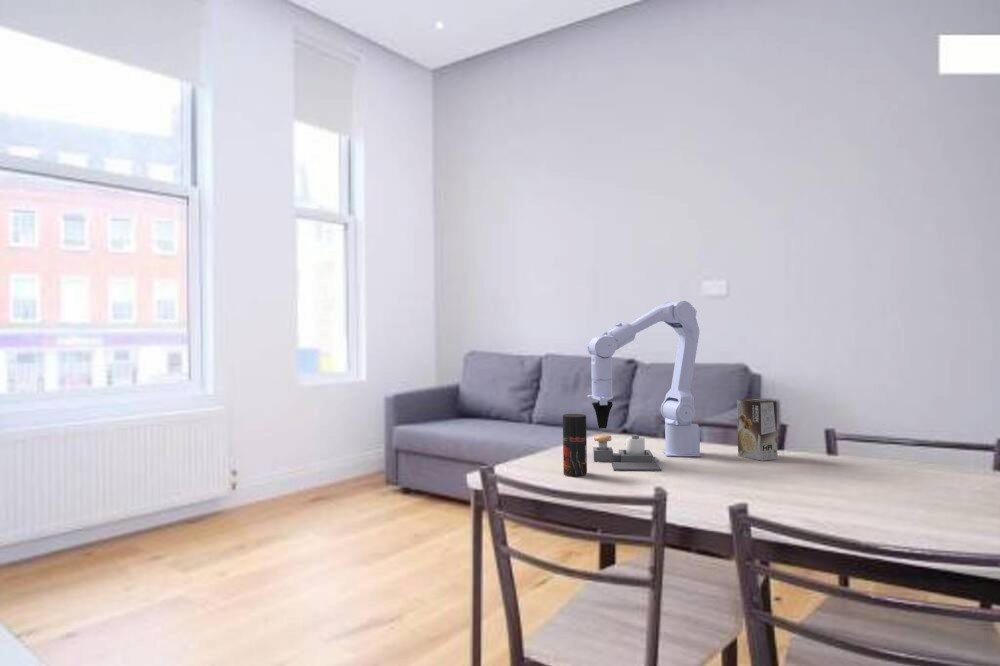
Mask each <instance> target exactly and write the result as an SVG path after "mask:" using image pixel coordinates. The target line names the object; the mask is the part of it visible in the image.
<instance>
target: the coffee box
mask: <svg viewBox="0 0 1000 666" xmlns="http://www.w3.org/2000/svg"><path fill="white" fill-rule="evenodd" d="M736 410H737V411H736V414H737V416H736V417H737V420H736V421H737V455H738V456H739V457H743V458H747V459H752V460H757V461H761V462H764V461H765V462H766V461H771V460H772V461H773V460H777V459H778V458H779V457H778V421H777V420H778V417H777V415H778V414H777V412H778V411H777V400H769V399H761V398H751V397H750V398H742V399H736Z"/></svg>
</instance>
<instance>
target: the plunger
mask: <svg viewBox="0 0 1000 666" xmlns="http://www.w3.org/2000/svg"><path fill="white" fill-rule="evenodd" d="M593 437H594V438H593V441H595V442H598V447H599V450H607V447H608V442H611V441H612V436H611V435H609V434H598V435H594V436H593Z"/></svg>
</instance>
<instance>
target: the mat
mask: <svg viewBox="0 0 1000 666" xmlns="http://www.w3.org/2000/svg"><path fill="white" fill-rule="evenodd" d="M611 466H612V468H613V472H617V471H619V472H662V468H661V467H660V465H659V463H658V462H653V463H645V462H621V461H620V462H619V461H617V462H616V461H613V462H611Z"/></svg>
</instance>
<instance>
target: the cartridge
mask: <svg viewBox="0 0 1000 666" xmlns="http://www.w3.org/2000/svg"><path fill="white" fill-rule="evenodd" d="M625 439H626V440H625V441H626V442H625V445H626V449H625V450H626V455H645V450H646V449H645V447H646V446H645V445H646V444H645V442H646V441H645V437H641V436H640V435H639V434H632V435H631V436H629V437H626V438H625Z"/></svg>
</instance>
